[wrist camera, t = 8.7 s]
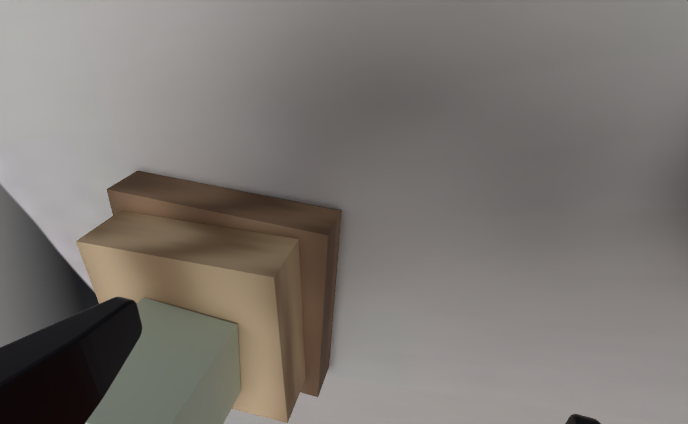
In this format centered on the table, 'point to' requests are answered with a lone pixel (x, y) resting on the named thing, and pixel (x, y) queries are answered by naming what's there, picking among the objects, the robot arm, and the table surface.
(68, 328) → the robot arm
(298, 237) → the walnut slab
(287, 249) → the oak slab
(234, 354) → the sage block
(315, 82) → the table surface
